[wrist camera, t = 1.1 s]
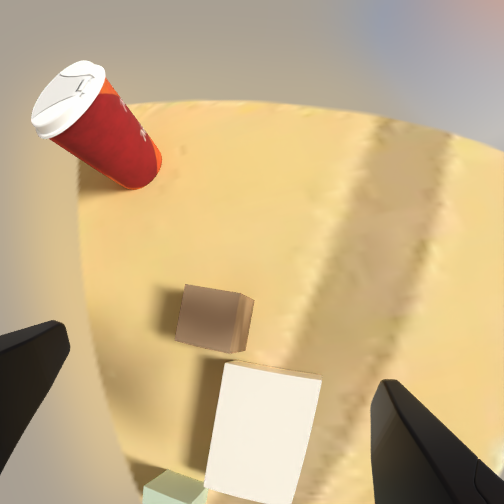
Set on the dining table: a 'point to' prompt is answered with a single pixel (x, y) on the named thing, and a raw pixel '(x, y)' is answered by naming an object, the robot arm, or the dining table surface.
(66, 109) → the paper cup
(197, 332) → the walnut cube
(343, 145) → the dining table surface
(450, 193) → the dining table surface
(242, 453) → the base slab
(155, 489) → the sage cube
